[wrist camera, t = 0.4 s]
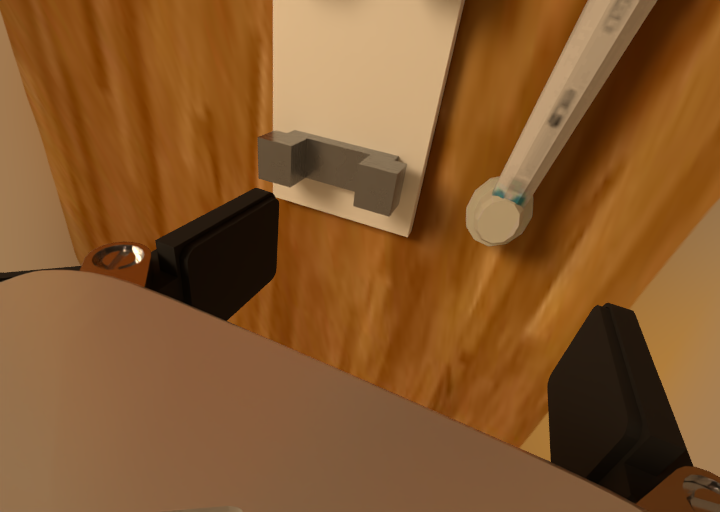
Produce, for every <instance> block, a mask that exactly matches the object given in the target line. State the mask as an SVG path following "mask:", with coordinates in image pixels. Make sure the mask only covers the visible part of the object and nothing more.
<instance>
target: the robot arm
mask: <svg viewBox="0 0 720 512" xmlns="http://www.w3.org/2000/svg"><path fill="white" fill-rule="evenodd" d="M278 219H279V201H278V200H277V199H275V195H274V194H273V193H271V192H268V191H265V190H262V189H259V188H254V189H252V190H250V191H248V192H247V193H245V194H243V195H241V196H239V197H237V198H235V199H233V200H231V201H229V202H227V203H226V204H224V205H222V206H220V207H218V208H216V209H214V210H212V211H210V212H208V213H207V214H205V215H203V216H201V217H199V218H197V219H195V220H193V221H191V222H189V223H187V224H186V225H184V226H182V227H180V228H178V229H176V230H174V231H172V232H170V233H168V234H167V235H165V236H163V237H161V238H159V239H157V240H155V241H156V247H157V249H156V250H154V251H152V252H151V251H150V249H149V248H148V247H147V246H145V245H143V244H140V243H135V242H115V243H110V244H106V245H103V246H100V247H98V248H96V249H94V250H93V251H91V252H90V253H89V254H88V255H87V256H86V257H85V259H84V262H83V264H82V266H75V267H64V268H53V269H41V270H30V271H19V272H7V273H0V512H720V477H718V476H716V475H715V474H713V473H711V472H709V471H706V470H703V469H700V468H697V467H693V464H692V462H691V459H690V456H689V454H688V451H687V449H686V446H685V443H684V441H683V438H682V435H681V433H680V430H679V428H678V425H677V422H676V420H675V417H674V415H673V412H672V409H671V407H670V404H669V401H668V399H667V396H666V393H665V391H664V388H663V386H662V383H661V380H660V378H659V376H658V373H657V370H656V368H655V365H654V363H653V360H652V357H651V355H650V352H649V350H648V347H647V344H646V342H645V339H644V336H643V334H642V331H641V328H640V326H639V323H638V320H637V318H636V315H635V313H634V311H632V310H629V309H626V308H623V307H620V306H617V305H614V304H610V303H606V304H605V305H603V307H602V306H599V305H597V306H595V307H594V308H593V309H592V311H591V312H590V314H589V316H588V317H587V319H586V320H585V322H584V323H583V325H582V327H581V328H580V330H579V331H578V333H577V334H576V336H575V337H574V339H573V341H572V342H571V344H570V345H569V347H568V348H567V350H566V352H565V353H564V355H563V356H562V358H561V359H560V361H559V363H558V364H557V366H556V367H555V369H554V370H553V372H552V374H551V375H550V378H549V381H548V409H549V431H550V452H551V462H549V461H547V460H545V459H543V458H540V457H538V456H536V455H534V454H531V453H529V452H527V451H524V450H522V449H520V448H518V447H515V446H513V445H511V444H509V443H506V442H504V441H502V440H499V439H497V438H495V437H493V436H490V435H488V434H486V433H483V432H481V431H479V430H477V429H474V428H472V427H470V426H468V425H465V424H463V423H461V422H458V421H456V420H454V419H452V418H449V417H447V416H445V415H442V414H440V413H438V412H436V411H433V410H431V409H429V408H427V407H424V406H422V405H420V404H417V403H415V402H413V401H411V400H408V399H406V398H404V397H402V396H399V395H397V394H395V393H392V392H390V391H388V390H385V389H383V388H381V387H379V386H376V385H374V384H372V383H369V382H367V381H365V380H362V379H360V378H358V377H356V376H353V375H351V374H349V373H346V372H344V371H342V370H339V369H337V368H335V367H332V366H330V365H328V364H325V363H323V362H321V361H319V360H316V359H314V358H312V357H309V356H307V355H305V354H302V353H300V352H298V351H295V350H293V349H291V348H288V347H286V346H284V345H281V344H279V343H277V342H274V341H272V340H270V339H267V338H265V337H263V336H260V335H258V334H256V333H253V332H251V331H249V330H246V329H244V328H241V327H239V326H237V325H234V324H232V323H230V322H227V320H228V319H229V318H230V317H231V316H232V315H234V314H235V313H236V312H237V311H238V310H239V309H240V308H241V307H242V306H243V305H245V304H246V303H247V302H248V301H249V300H250V299H251V298H252V297H253V296H254V295H256V294H257V293H258V292H259V291H260V290H261V289H262V288H263V287H264V286H265V285H267V284H268V283H269V282H270V281H271V280H272V279H273V277H274V275H275V273H276V266H277V242H278Z"/></svg>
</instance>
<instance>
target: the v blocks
mask: <svg viewBox="0 0 720 512" xmlns="http://www.w3.org/2000/svg"><path fill="white" fill-rule="evenodd" d="M398 157H399V156H396V155H392V154H388V153H384V152H380V151H376V150H373V149H369V148H365V147H361V146H357V145H353V144H349V143H345V142H341V141H337V140H333V139H329V138H325V137H321V136H317V135H313V134H309V133H305V132H301V131H297V130H293V131H291V132H288V133H284V132H280V131H276V130H275V131H273V132H270V133H267V134H265V135H262V136H260V137H258V170H259V179H263V180H266V181H269V182H273V183H276V184H280V185H283V186H286V187H292V186H294V185H295V184H297V183H298V182H300V181H301V180H303V179H304V178H308V179H311V180H315V181H319V182H322V183H326V184H329V185H333V186H336V187H340V188H343V189H347V190H350V191H354V192H355V195H354V203H353V206H354V207H358V208H361V209H364V210H368V211H371V212H375V213H378V214H381V215H385V216H388V217H390V215H391V214H392V213H393V211H394V210H395V209H396V208H397V206H398V205H399V202H400V197H401V192H402V187H403V182H404V177H405V172H406V167H407V164H406V163H402V162H398Z"/></svg>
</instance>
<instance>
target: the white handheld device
mask: <svg viewBox="0 0 720 512" xmlns="http://www.w3.org/2000/svg"><path fill="white" fill-rule="evenodd" d="M656 2H657V0H588V1H587V3H586V5H585V7H584V9H583V11H582V13H581V15H580V17H579V19H578V21H577V23H576V25H575V27H574V29H573V31H572V33H571V35H570V37H569V39H568V41H567V43H566V45H565V47H564V49H563V51H562V53H561V55H560V57H559V59H558V61H557V63H556V65H555V67H554V69H553V71H552V73H551V75H550V77H549V79H548V81H547V83H546V85H545V87H544V89H543V91H542V93H541V95H540V97H539V99H538V101H537V103H536V105H535V107H534V109H533V111H532V113H531V115H530V117H529V119H528V121H527V123H526V125H525V127H524V129H523V131H522V133H521V135H520V137H519V139H518V141H517V143H516V145H515V147H514V149H513V151H512V153H511V155H510V157H509V159H508V161H507V163H506V165H505V167H504V169H503V171H502V173H501V176H500V177H495V178H490V179H489V180H488V181H486V182H485V183H484V184H483V185H481V186H480V187H479V188H477V189H476V190H475V192H474V194H473V196H472V198H471V200H470V202H469V204H468V206H467V208H466V227H467V228H468V230H469V232H470V233H471V235H472V237H473V238H474V240H476V241H478V242H481V243H483V244H485V245H487V246H495V245H503V244H507V243H509V242H510V241H512V240H513V239H515V238H516V237H518V236H519V235H521V234H522V233H523V231H524V230H525V228H526V226H527V225H528V223H529V221H530V220H531V218H532V214H533V199H534V198H533V194H534V192H535V191H536V189H537V187H538V186H539V184H540V183H541V181H542V180H543V178H544V177H545V175H546V173H547V172H548V170H549V169H550V167H551V166H552V164H553V162H554V161H555V159H556V158H557V156H558V155H559V153H560V152H561V150H562V148H563V147H564V145H565V144H566V142H567V141H568V139H569V137H570V136H571V134H572V133H573V131H574V130H575V128H576V127H577V125H578V123H579V122H580V120H581V119H582V117H583V116H584V114H585V112H586V111H587V109H588V108H589V106H590V105H591V103H592V102H593V100H594V98H595V97H596V95H597V94H598V92H599V91H600V89H601V87H602V86H603V84H604V83H605V81H606V80H607V78H608V77H609V75H610V73H611V72H612V70H613V69H614V67H615V66H616V64H617V62H618V61H619V59H620V58H621V56H622V55H623V53H624V52H625V50H626V48H627V47H628V45H629V44H630V42H631V41H632V39H633V37H634V36H635V34H636V33H637V31H638V30H639V28H640V27H641V25H642V23H643V22H644V20H645V19H646V17H647V16H648V14H649V12H650V11H651V9H652V8H653V6H654V5H655V3H656Z"/></svg>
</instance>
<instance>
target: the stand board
mask: <svg viewBox="0 0 720 512" xmlns="http://www.w3.org/2000/svg"><path fill="white" fill-rule="evenodd" d="M464 2H465V0H273V131H275V130H276V131H280V132H284V133H288V132H291V131H293V130H297V131H301V132H305V133H309V134H313V135H317V136H321V137H325V138H329V139H333V140H337V141H341V142H345V143H349V144H353V145H357V146H361V147H365V148H369V149H373V150H376V151H380V152H384V153H388V154H392V155H396V156H399V157H398V162H402V163H406V164H407V167H406V172H405V177H404V182H403V187H402V192H401V197H400V202H399V205H398V206H397V208H396V209H395V210H394V211H393V213H392V214H391V215H390V217H388V216H385V215H381V214H378V213H375V212H371V211H368V210H364V209H361V208H358V207H354V206H353V203H354V195H355V192H354V191H350V190H347V189H343V188H340V187H336V186H333V185H329V184H326V183H322V182H319V181H315V180H311V179H308V178H304V179H303V180H301V181H300V182H298V183H297V184H295V185H294V186H292V187H286V186H283V185H280V184H276V183H273V194H274V195H275V197H277V198H280V199H284V200H287V201H290V202H293V203H297V204H300V205H303V206H307V207H310V208H313V209H316V210H320V211H323V212H326V213H330V214H333V215H336V216H339V217H343V218H346V219H349V220H352V221H356V222H359V223H362V224H366V225H369V226H372V227H375V228H379V229H382V230H385V231H388V232H392V233H395V234H398V235H402V236H405V237H408V236H409V234H410V233H411V231H412V227H413V222H414V218H415V214H416V209H417V205H418V201H419V196H420V192H421V188H422V183H423V179H424V175H425V170H426V166H427V162H428V157H429V153H430V149H431V144H432V140H433V136H434V132H435V127H436V123H437V119H438V114H439V110H440V106H441V101H442V97H443V93H444V88H445V84H446V80H447V75H448V71H449V67H450V62H451V58H452V54H453V50H454V45H455V41H456V37H457V32H458V28H459V24H460V19H461V15H462V11H463V6H464Z"/></svg>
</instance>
